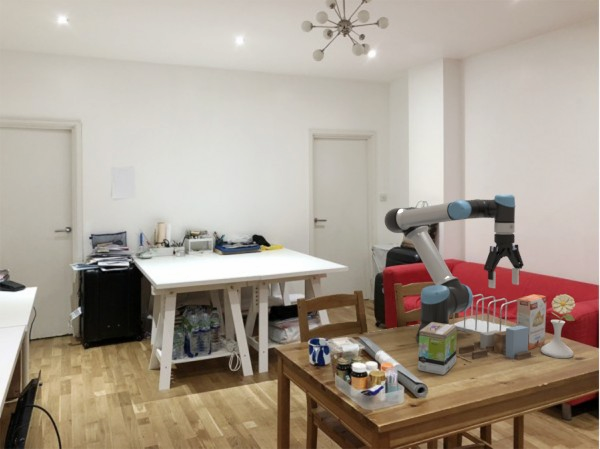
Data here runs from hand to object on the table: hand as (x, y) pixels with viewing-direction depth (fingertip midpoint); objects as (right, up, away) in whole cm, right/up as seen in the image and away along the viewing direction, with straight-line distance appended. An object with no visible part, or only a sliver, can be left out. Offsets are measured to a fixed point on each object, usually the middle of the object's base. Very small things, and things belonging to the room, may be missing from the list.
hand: (503, 286), depth 202 cm
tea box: (-31, -28, -17) cm, 45 cm away
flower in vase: (+18, -27, -8) cm, 33 cm away
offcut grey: (-4, -25, +1) cm, 25 cm away
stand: (-15, -27, -8) cm, 32 cm away
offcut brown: (-2, -25, -4) cm, 26 cm away
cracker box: (+13, -26, +4) cm, 29 cm away
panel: (+1, -26, -10) cm, 27 cm away
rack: (-2, -26, -4) cm, 27 cm away
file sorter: (+3, -24, +28) cm, 38 cm away
